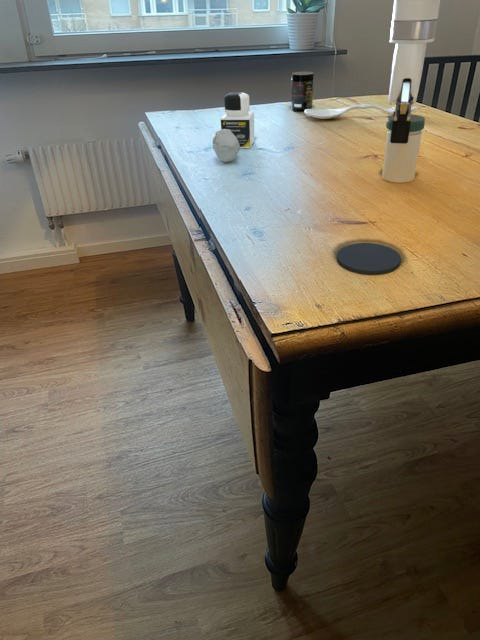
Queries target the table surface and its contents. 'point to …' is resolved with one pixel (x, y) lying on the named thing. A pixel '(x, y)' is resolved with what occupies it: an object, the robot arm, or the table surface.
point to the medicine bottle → (239, 118)
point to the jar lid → (416, 122)
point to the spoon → (337, 112)
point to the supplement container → (302, 91)
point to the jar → (401, 158)
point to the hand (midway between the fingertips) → (399, 136)
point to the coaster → (368, 258)
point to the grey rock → (225, 145)
